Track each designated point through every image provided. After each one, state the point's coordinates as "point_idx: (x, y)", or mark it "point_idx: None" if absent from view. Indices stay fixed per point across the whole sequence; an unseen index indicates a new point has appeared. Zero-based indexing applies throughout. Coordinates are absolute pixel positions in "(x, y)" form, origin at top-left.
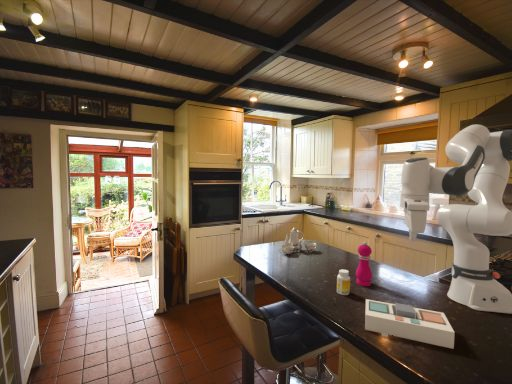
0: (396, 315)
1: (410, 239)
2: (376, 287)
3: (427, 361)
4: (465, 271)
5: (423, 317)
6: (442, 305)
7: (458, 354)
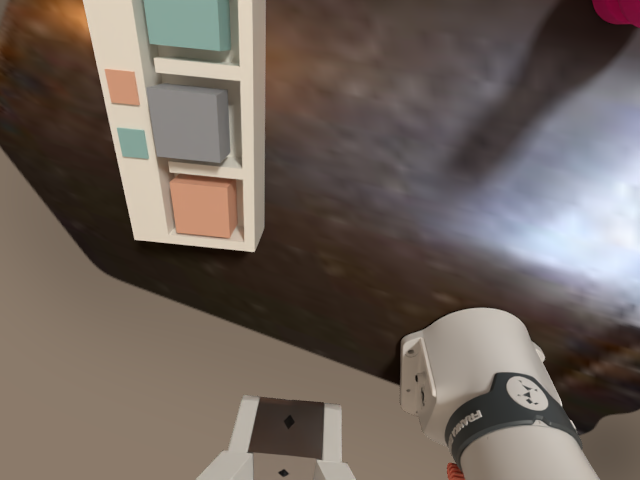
0: (162, 84)
1: (241, 409)
2: (573, 55)
3: (53, 134)
4: (473, 424)
5: (199, 182)
6: (416, 271)
7: None
